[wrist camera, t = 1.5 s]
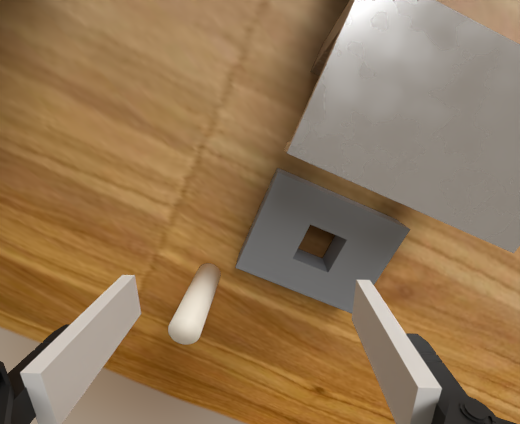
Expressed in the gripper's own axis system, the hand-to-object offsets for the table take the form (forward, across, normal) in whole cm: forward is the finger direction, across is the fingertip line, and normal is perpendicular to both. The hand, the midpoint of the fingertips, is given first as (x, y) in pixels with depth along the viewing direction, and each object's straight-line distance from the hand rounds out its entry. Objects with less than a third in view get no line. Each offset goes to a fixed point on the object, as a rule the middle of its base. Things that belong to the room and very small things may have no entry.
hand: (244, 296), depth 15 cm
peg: (+22, -8, -11) cm, 26 cm away
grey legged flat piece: (+22, +14, +10) cm, 28 cm away
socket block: (+22, +8, -5) cm, 24 cm away
